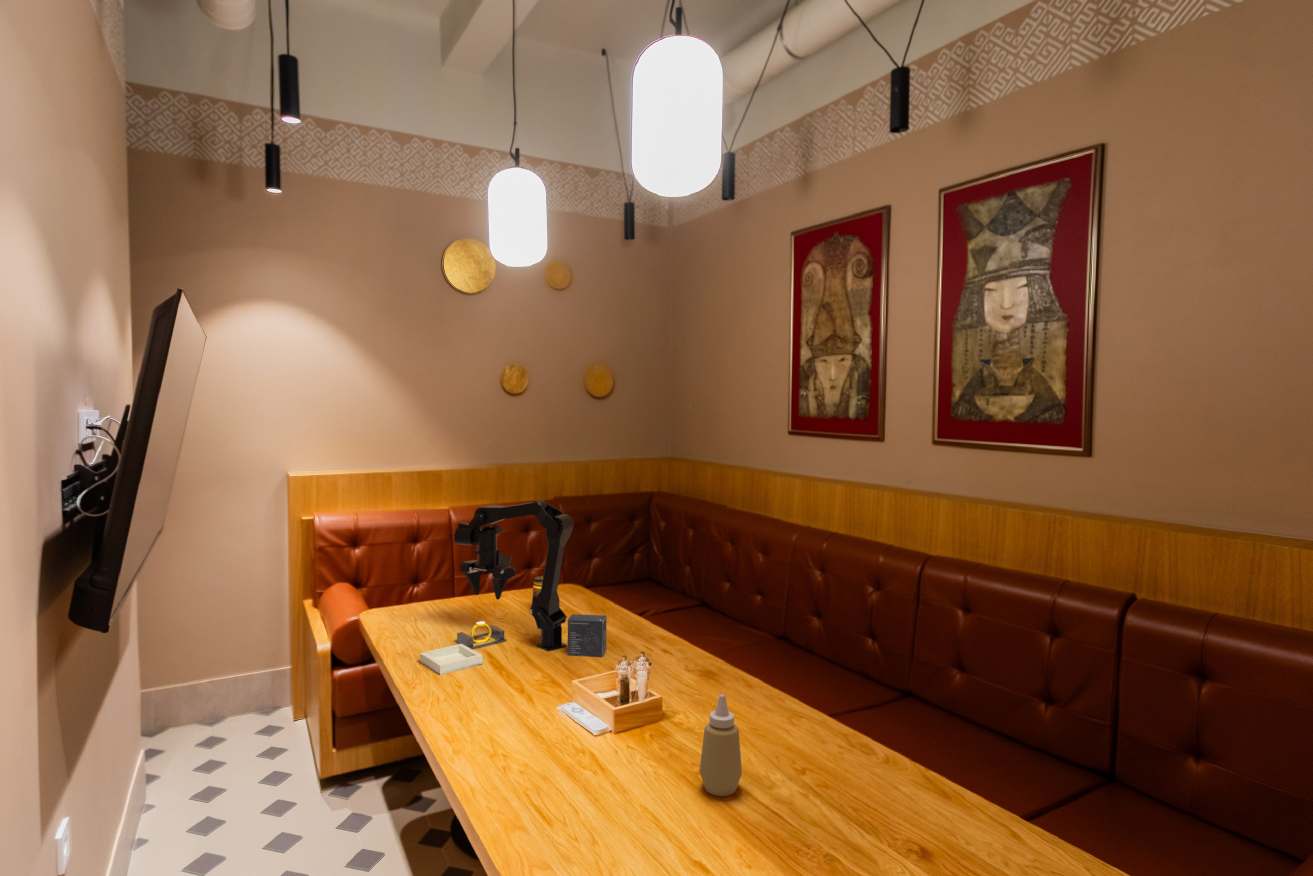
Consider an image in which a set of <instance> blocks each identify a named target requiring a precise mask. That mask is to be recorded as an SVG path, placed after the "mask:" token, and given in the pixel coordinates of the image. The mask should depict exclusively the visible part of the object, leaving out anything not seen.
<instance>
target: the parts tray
mask: <svg viewBox="0 0 1313 876" xmlns="http://www.w3.org/2000/svg"><path fill="white" fill-rule="evenodd" d="M419 662H420V663H421V664H422V665H424V666H426V667H427V668H428V669H430V670H432V671H433V672H434V673H436V674H437V675H439V676H442V675H446V674H449V673H454V672H457V671H461V670H465V669H468V668H469V669H470V668H473V667H477V666H481V665H483V654H481V653H479V652H477V651H476V650H475V649H470V648H468V647H467V646H465V645H463V644H458V643H457V644H455V645H450V646H445V647H442V648H437V649H432V650H428V651H424V652H420V654H419Z"/></svg>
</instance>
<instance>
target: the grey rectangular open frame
mask: <svg viewBox="0 0 1313 876" xmlns="http://www.w3.org/2000/svg"><path fill="white" fill-rule="evenodd" d="M488 626H489V627H490V628H491V636H490V638H492V639H494V641H491V642H484V643H481V644H477V645H474V641H473V638H474V639H477V638H481V637H487V636H488V634H489V628H488V627H487V628H488V629H487V630H488V631H487V632H484V633H479V634H475V635H474V634H473V637H471V635H469V634H467V633H465V632H463V631H460V632H457V633H456V639H455V640H454V641H455V643H457V645H458V644H463V645H465V646H467V647H468V648H470V649H472V650H475V649H480V648H484V647H489V646H493V645H497V644H501V643H505V642H507V639H506V638H505V630H504V629H503V628H500V627H497V626H495V625H493V624H492V625H488Z"/></svg>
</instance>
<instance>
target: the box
mask: <svg viewBox="0 0 1313 876" xmlns="http://www.w3.org/2000/svg"><path fill="white" fill-rule="evenodd" d="M607 617H608V616H607V615H602V614H601V615H600V614H580V613H579V614H577V613H576V614H575V613H574V614H573V613H572V614H571V615H570V616H569V618H567V653H566V654H567V656H574V657H575V656H577V657H578V656H579V657H596V658H597V657H598V658H599V657H600V658H602V657H604V655H605V654H606V652H607V623H608V621H607Z"/></svg>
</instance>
